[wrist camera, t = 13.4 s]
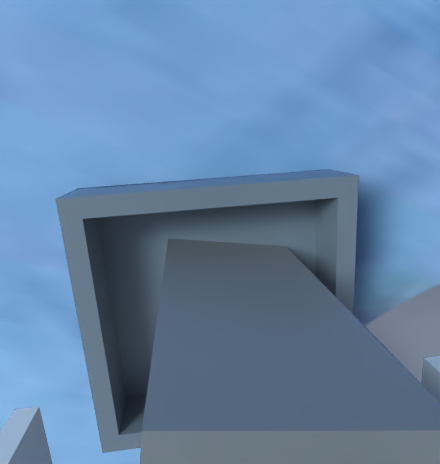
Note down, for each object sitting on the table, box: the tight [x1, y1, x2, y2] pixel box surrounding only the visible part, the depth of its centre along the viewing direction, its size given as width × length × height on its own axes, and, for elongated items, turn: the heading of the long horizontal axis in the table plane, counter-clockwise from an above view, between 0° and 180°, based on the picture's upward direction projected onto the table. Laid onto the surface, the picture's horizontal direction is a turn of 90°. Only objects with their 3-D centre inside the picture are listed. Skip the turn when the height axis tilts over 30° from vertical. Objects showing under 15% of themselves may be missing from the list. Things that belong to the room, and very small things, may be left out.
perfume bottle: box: [140, 238, 440, 464], centre depth 12 cm, size 7×7×18 cm
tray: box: [56, 170, 359, 453], centre depth 20 cm, size 14×14×4 cm
